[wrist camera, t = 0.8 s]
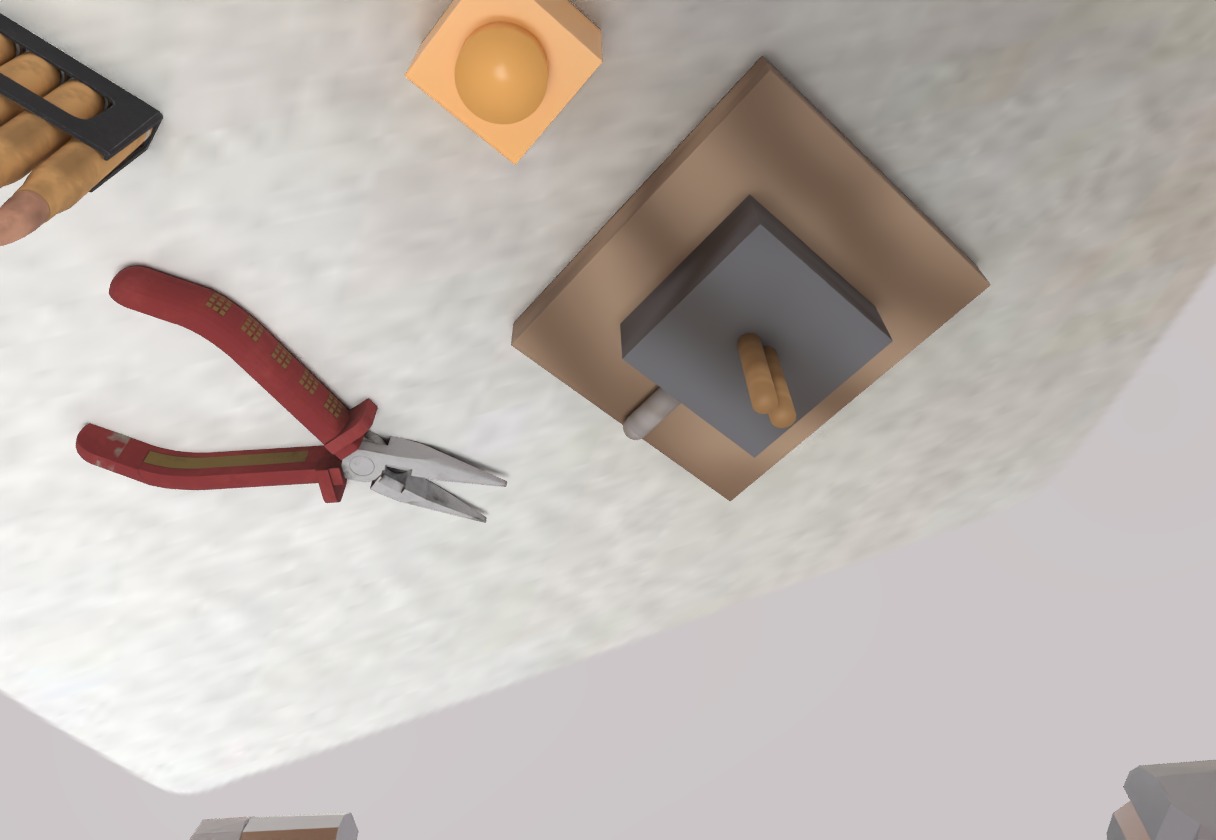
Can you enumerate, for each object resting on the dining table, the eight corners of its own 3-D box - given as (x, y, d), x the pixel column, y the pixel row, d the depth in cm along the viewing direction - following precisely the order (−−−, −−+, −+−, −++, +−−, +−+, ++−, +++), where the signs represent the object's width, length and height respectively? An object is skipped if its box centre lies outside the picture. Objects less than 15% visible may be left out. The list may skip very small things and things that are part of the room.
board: (762, 55, 39) (806, 135, 32) (975, 264, 45) (1058, 376, 37) (513, 323, 46) (499, 443, 38) (725, 476, 52) (751, 609, 44)
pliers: (459, 560, 55) (454, 594, 53) (84, 436, 50) (62, 468, 48) (541, 405, 50) (540, 435, 47) (128, 246, 44) (105, 272, 42)
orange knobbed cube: (499, -62, 37) (487, -33, 32) (600, 30, 39) (603, 71, 34) (421, 43, 39) (399, 85, 34) (521, 126, 41) (513, 176, 36)
